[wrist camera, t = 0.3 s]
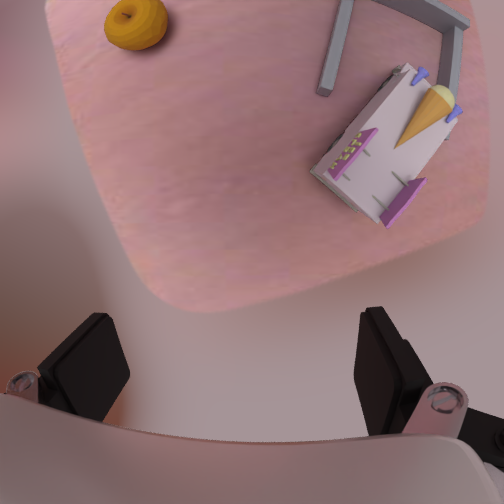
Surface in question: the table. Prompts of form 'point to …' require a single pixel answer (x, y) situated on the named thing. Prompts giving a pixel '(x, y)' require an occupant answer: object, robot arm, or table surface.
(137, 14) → the apple
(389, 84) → the toy vehicle
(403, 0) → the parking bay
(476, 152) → the table surface
